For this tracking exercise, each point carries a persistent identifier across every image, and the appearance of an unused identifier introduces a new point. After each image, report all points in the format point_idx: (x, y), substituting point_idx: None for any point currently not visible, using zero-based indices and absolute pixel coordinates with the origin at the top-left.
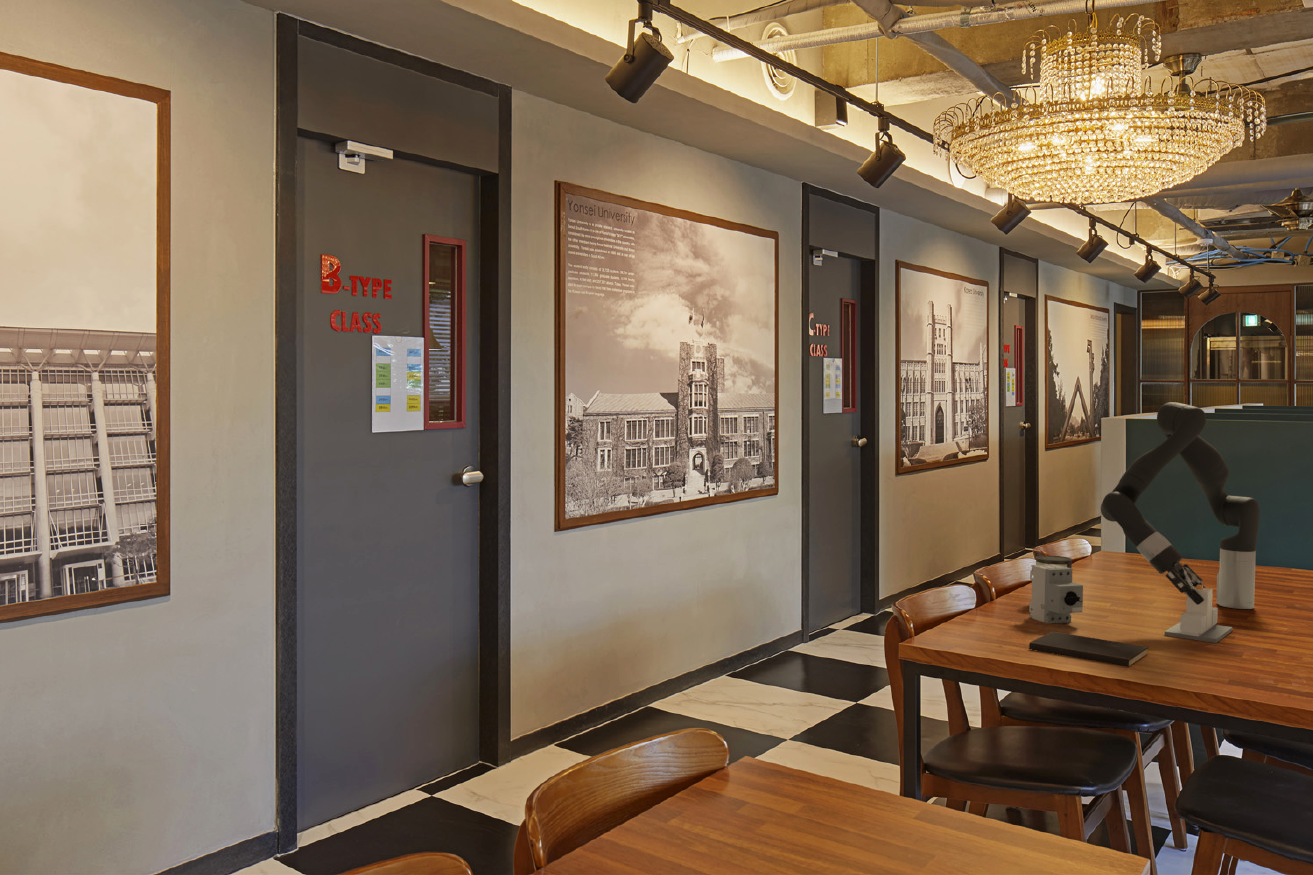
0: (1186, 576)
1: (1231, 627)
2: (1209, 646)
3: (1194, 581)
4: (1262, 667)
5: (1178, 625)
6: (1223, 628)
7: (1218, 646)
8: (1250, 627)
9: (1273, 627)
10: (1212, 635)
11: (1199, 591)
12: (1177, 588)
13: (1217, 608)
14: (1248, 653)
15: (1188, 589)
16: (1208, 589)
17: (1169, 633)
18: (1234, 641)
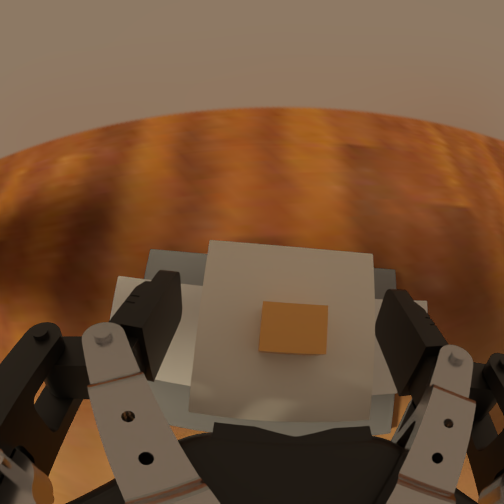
0: (468, 433)
1: (156, 251)
2: (439, 281)
3: (65, 389)
4: (495, 177)
5: (245, 424)
6: (190, 272)
7: (422, 261)
8: (79, 218)
9: (63, 177)
10: None
11: (373, 318)
12: (487, 430)
13: (123, 277)
14: (432, 194)
15: (475, 367)
16: (263, 264)
17: (389, 417)
18: (324, 231)
